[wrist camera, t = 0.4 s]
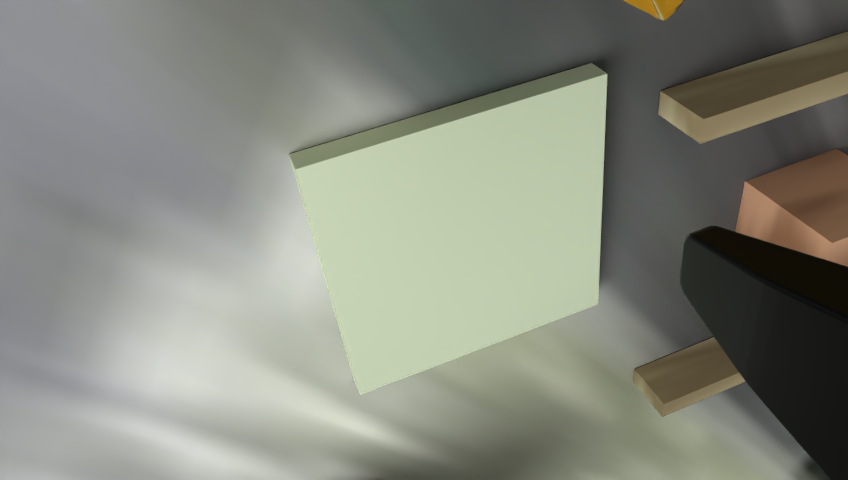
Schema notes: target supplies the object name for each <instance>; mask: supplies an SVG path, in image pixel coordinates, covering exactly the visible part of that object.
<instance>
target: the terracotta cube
mask: <svg viewBox="0 0 848 480" xmlns="http://www.w3.org/2000/svg"><path fill="white" fill-rule="evenodd" d="M736 232H738V233H741V234H744V235H747V236H750V237H754V238H757V239H760V240H763V241H767V242H770V243H773V244H776V245H780V246H783V247H786V248H789V249H792V250H796V251H799V252H802V253H805V254H809V255H812V256H815V257H818V258H822V259H825V260H828V261H831V262H834V263H838V264H841V265H844V266H847V267H848V155H846V154H845V153H843V152H841V151H839V150H838V149H834V150H831V151H828V152H826V153H823V154H820V155H817V156H814V157H812V158H809V159H806V160H803V161H800V162H798V163H795V164H792V165H789V166H787V167H784V168H781V169H778V170H775V171H773V172H770V173H767V174H764V175H761V176H759V177H756V178H753V179H750V180H747V181H745V185H744V190H743V195H742V200H741V206H740V211H739V216H738V221H737V226H736Z"/></svg>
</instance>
